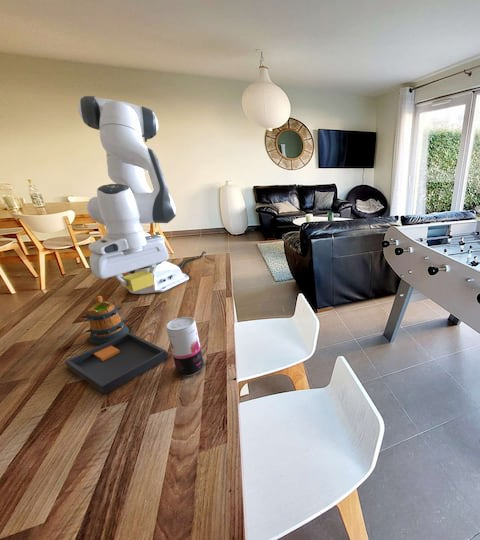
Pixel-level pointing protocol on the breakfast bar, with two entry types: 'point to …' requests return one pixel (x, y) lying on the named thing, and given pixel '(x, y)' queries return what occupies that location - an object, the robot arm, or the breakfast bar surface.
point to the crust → (106, 353)
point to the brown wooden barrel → (105, 322)
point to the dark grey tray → (117, 362)
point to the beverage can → (185, 346)
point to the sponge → (139, 280)
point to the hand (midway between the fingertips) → (138, 281)
